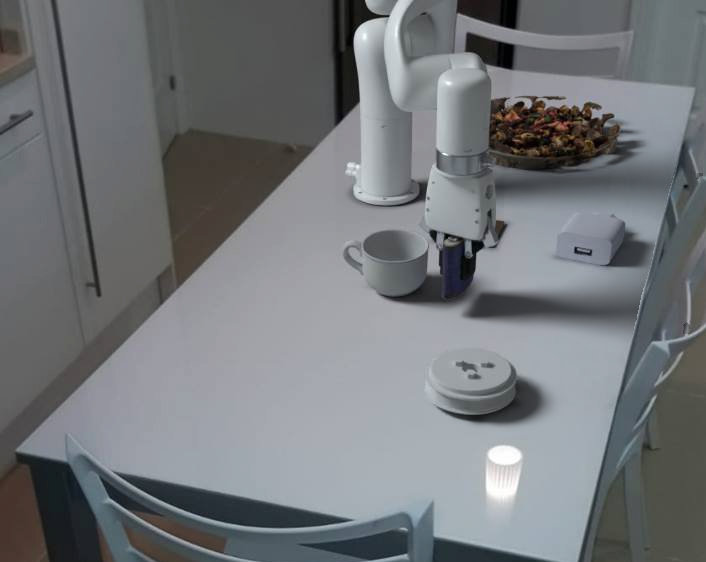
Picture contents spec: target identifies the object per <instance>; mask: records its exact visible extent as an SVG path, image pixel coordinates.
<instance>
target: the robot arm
mask: <svg viewBox="0 0 706 562" xmlns="http://www.w3.org/2000/svg"><path fill="white" fill-rule="evenodd" d="M364 2H365V4H366V7H367V9H368V10H369V11H370V12H372V13H374V14H376V15H381V16H388V17H378V18H373V19H370V20H367V21H365V22H363V23H361V24H360V25H359V26H358V27H357V29H356V30H355V32H354V36H353V51H354V52H353V53H354V57H355V63H356V64H355V65H356V70H357V78H358V91H359V117H360V118H359V120H360V121H359V122H360V124H359V125H360V163H358V162H356V161H355V162H354V161H349V162H347V165H346V170H345V176H347V177H350V178H354V179H355V180H356V182H355V183H354V185H353V188H352V189H353V196H354V197H355V198H356V199H357V200H359V201H361V202H363V203H366V204H369V205H376V206H397V205H403V204H406V203H408V202H411V201H413V200H415V199H416V198H418V196H419V195H420V184H419V183H418V182H417V181H416V180H415V179H414V178H412V175H413V174H412V172H413V171H412V169H413V168H412V166H413V164H412V163H413V162H412V161H413V112H424V111H425V112H427V111H433V110H436V131H435V132H436V134H435V162H434V163H433V164H432V165H431V169H430V173H429V177H428V182H427V186H426V194H425V206H424V215H423V217H422V218H421V220H420V222H419V227H420V228H421V229H422V230H423V231H424V232H426V233H427V234H429V236H430V238H431V239H432V241H433V242H434V243H435V249H436V250H437V251H438V266H439V275H440V276H442V271H443V242H444V241H445V240H446V239H448V237H451V236H452V235H455V236H458V237H462V238H464V251H465V255H464V256H462V258H461V273H460V279H461V280H462V281H466V280H467V279H468V278H469V277H470V276H472V275H473V274H474V275H475V272H476V269H477V253H479V252H480V251H481V250H483V249H487V248H490V247H491V246H492V247H494V246H496V245H497V244H498V243H499V241H500V239H499V235H498V236H497V234H496V231H495V229H494V228H495V225H496V220H497V194H496V193H497V192H496V184H495V177H494V171H493V168H494V167H495V166H496V164H495V163H496V159H495V158H491V157H490V156H489V149H488V143H489V125H490V108H491V100H492V89H493V86H492V85H493V84H492V79H491V77H490V75H489V74H488V68H487V65H486V63H485V62H483V59H482V58H481V57H480V56H479V55H478V54H477V53H474V52H469V51H465V52H464V51H463V52H462V51H461V52H453V51H454V44H455V32H456V19H457V9H458V0H364ZM423 13H426V14H423ZM484 234H485V237H486V238H483V235H484ZM482 238H483V239H482ZM480 239H481V240H480Z"/></svg>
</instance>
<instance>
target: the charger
mask: <svg viewBox="0 0 706 562" xmlns="http://www.w3.org/2000/svg"><path fill="white" fill-rule="evenodd" d="M625 231H626V222H625V221H624V220H623V219H621V218H618V217H617V216H615V214H614V213H607V212H603V211H597V212H593V213H588V212H584V211H583V212H582V211H577V212H574V213H573V214H572V216H570V218H569V219H568V221H567V222H566V223H565V225H564V226H563V227H562V228H561V230H560V231H559V233H557V239H556V248H555V254H556V255H557V256H558V257H560V258H562V259H567V260H570V261H571V260H572V261H577V262H582V263H587V264H593V265H598V266H606V265H609V264H610V263H611V262H612V260H613V258H614V256H615V254H616V253H617V251H618V250H619V248H620V247H621V245H622V244H623V243H624V238H625Z"/></svg>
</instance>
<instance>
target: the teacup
mask: <svg viewBox="0 0 706 562" xmlns="http://www.w3.org/2000/svg"><path fill="white" fill-rule="evenodd" d="M351 248H355V250H357V251H358V253H359V255H360V257H361V259H362V263H361V262H359V261H357V260H356V259H355V258H353V257H352V256H351V254H350V252H349V250H350V249H351ZM429 249H430V243H429V241H428V239H427V238H426V237H425V236H424V235H422V234H420V233H419V232H418V231H417V232H416V231H414V230H410V229H406V228H385V229H380V230H377V231H374V232H372V233H370V234H369V235H367V236H366V237H365V238H363V240H362V242H360V241H359V240H356V239H350V240H348V241H346V242H345V244H344V245H343V246H342V252H341V253H342V257H343V259H344V261H345V263H347V264H348V265H349V266H351V268H353V269H354V270H356V271H358V272H359V273H360V275H361V276H363V278H364V280H365V282H366V284H367V286H369V287H370V288H371V289H372V290H373V291H376V292H377V293H378V294H380V295H383V296H386V297H394V298H397V297H403V296H406V295H409V294H411V293H413V292H414V291H416V290H418V288H420V287H421V286H422V285H423V284H424V282H425V280H426V278H427V273H428V263H429Z"/></svg>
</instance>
